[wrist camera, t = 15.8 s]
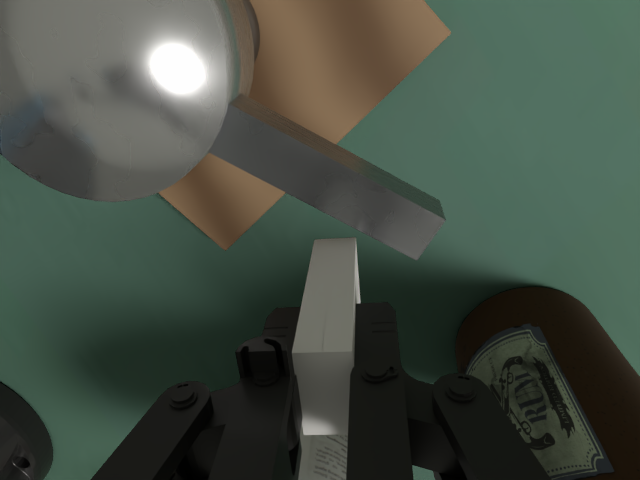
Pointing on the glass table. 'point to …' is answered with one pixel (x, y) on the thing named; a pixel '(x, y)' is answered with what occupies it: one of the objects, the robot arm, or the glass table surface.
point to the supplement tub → (323, 457)
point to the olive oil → (557, 382)
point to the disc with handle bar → (173, 112)
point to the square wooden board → (309, 90)
